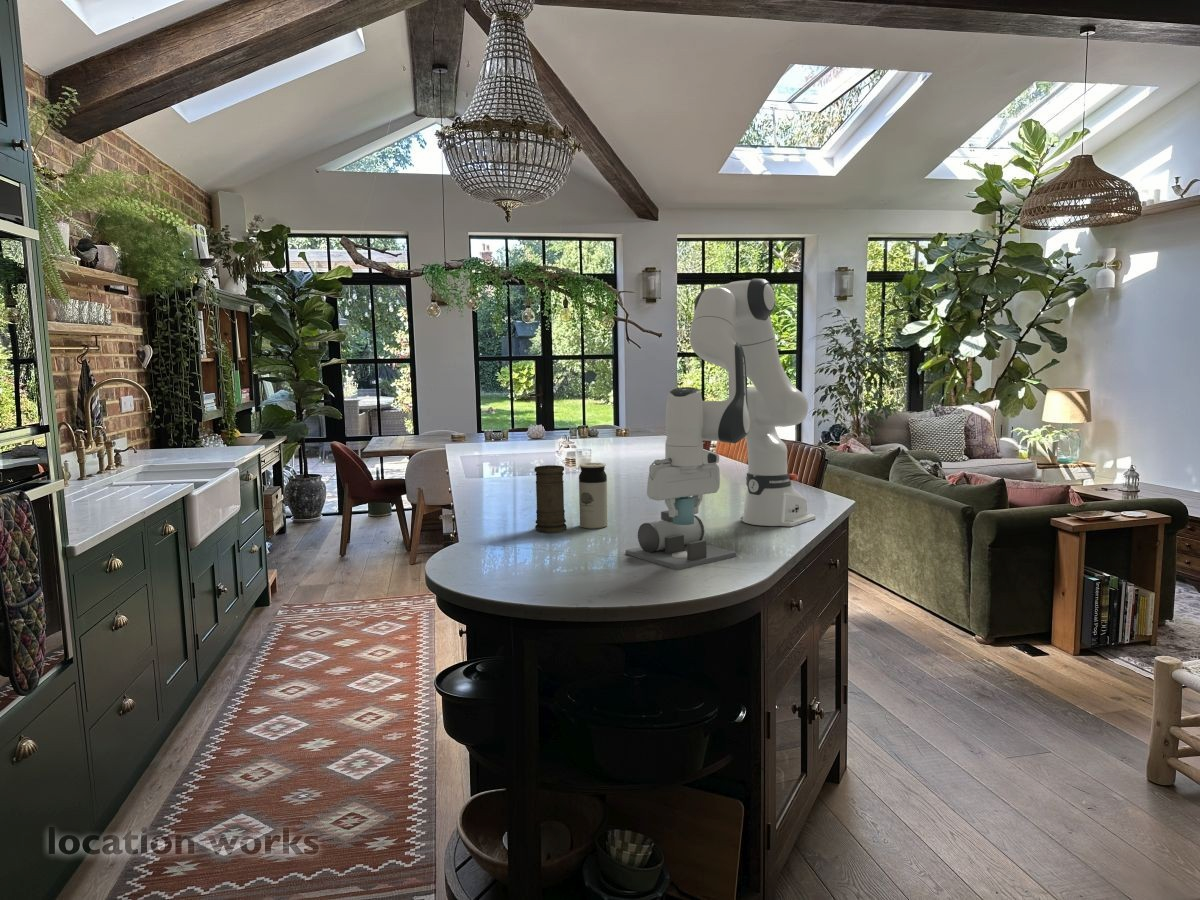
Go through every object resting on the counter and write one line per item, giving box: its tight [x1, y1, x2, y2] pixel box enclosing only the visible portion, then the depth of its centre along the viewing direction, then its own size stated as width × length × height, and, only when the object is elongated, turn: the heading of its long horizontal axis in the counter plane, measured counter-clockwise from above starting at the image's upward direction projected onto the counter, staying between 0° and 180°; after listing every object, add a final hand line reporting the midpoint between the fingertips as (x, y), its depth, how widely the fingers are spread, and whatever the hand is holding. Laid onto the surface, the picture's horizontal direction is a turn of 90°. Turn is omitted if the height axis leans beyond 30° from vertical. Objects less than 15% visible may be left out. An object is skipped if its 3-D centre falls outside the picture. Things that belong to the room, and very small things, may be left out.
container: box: [534, 464, 568, 534], centre depth 222 cm, size 9×9×18 cm
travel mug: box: [578, 462, 609, 530], centre depth 226 cm, size 8×8×18 cm
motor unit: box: [625, 509, 737, 570], centre depth 191 cm, size 19×19×10 cm
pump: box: [673, 496, 695, 525], centre depth 186 cm, size 5×5×8 cm
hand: (683, 515), depth 186 cm, fingers closed on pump, 5 cm apart
